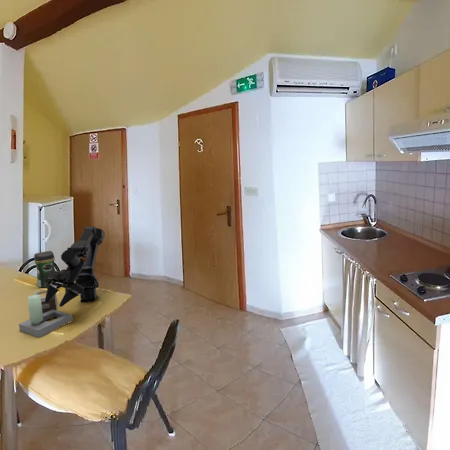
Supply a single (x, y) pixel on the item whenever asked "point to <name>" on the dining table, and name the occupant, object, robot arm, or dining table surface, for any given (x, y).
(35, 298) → the peg
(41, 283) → the coffee jar
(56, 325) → the keyhole plate
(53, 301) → the coffee box
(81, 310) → the dining table surface
